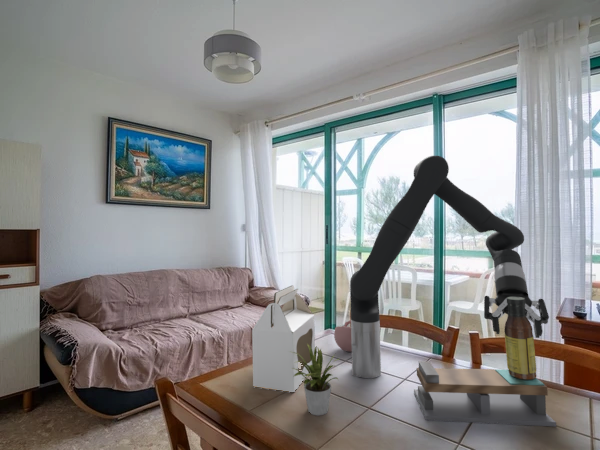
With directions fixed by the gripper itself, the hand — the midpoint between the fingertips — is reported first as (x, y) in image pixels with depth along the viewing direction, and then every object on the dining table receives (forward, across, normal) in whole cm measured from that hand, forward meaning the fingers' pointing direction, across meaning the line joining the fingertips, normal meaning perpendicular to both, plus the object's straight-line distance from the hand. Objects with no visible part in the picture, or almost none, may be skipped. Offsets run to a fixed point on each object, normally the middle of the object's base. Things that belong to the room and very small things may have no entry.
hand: (517, 334), depth 85 cm
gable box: (+16, -65, +11) cm, 68 cm away
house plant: (+27, -48, 0) cm, 55 cm away
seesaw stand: (+15, -10, +12) cm, 22 cm away
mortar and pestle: (-5, -52, +32) cm, 62 cm away
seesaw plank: (+11, -10, +8) cm, 16 cm away
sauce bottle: (+7, +1, +9) cm, 11 cm away
